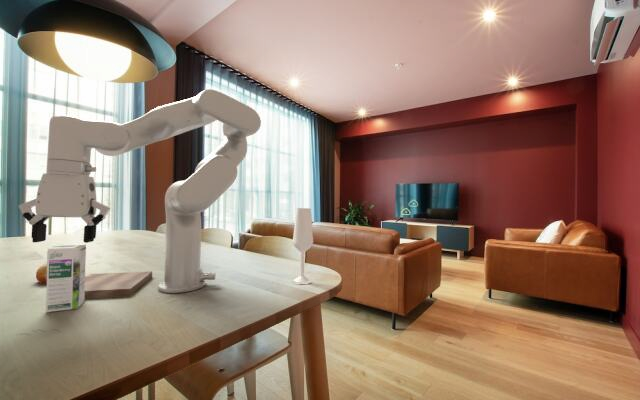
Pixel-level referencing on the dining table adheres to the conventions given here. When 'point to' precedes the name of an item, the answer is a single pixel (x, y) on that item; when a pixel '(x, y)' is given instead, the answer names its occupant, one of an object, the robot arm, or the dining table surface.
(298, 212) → the champagne flute
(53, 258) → the syrup box
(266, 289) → the dining table surface
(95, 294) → the walnut board
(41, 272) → the fruit
